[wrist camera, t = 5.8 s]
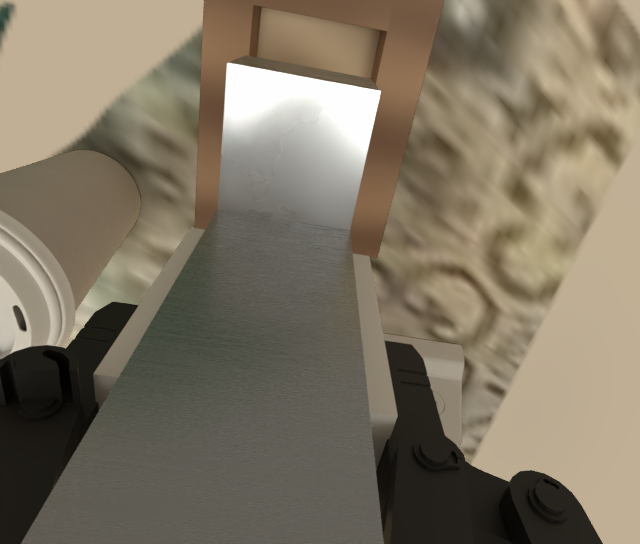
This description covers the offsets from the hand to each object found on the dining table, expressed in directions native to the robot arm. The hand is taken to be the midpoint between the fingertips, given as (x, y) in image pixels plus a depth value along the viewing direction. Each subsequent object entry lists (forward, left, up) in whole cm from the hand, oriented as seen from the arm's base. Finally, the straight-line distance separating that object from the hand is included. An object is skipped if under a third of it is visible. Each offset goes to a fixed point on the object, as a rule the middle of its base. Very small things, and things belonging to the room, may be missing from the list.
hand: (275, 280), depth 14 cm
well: (+2, 0, -18) cm, 18 cm away
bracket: (+2, 0, -3) cm, 4 cm away
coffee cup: (-6, +14, -18) cm, 24 cm away
